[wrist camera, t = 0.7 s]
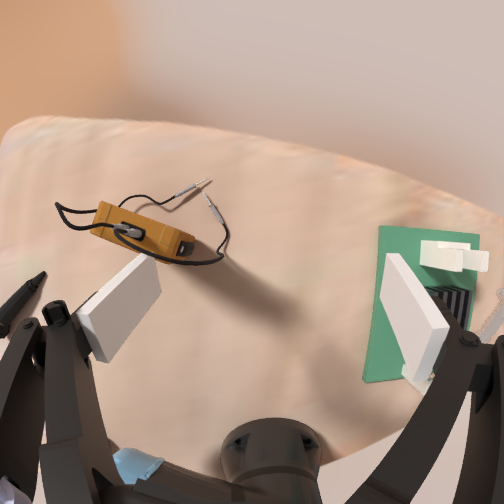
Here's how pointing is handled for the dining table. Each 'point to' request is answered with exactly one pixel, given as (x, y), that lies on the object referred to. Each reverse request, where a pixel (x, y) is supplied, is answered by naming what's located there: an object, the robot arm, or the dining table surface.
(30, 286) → the microphone
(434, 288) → the heat sink
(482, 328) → the clamp bar
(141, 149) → the dining table surface
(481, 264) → the circuit board
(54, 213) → the dining table surface
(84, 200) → the dining table surface
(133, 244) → the multimeter
